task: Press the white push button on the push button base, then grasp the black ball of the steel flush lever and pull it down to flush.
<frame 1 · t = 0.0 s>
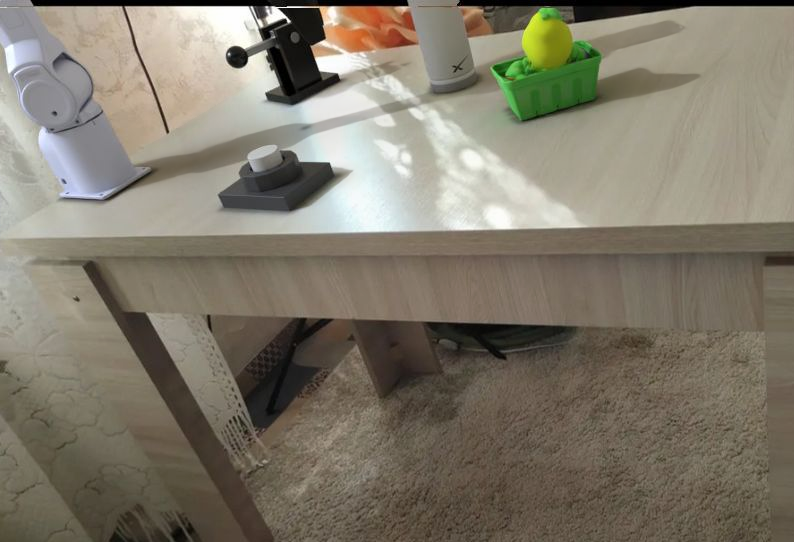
hand: (317, 34, 96), 11 cm above the table, tool pointing down, fingers open, 7 cm apart
travel mug: (456, 85, 102), on the table
white push button: (265, 159, 83), point 4 cm above the table, slide at 0.1 cm
push button base: (279, 192, 86), on the table
black lever base: (304, 90, 115), on the table
flush lever: (260, 46, 109), point 8 cm above the table, hinge at 0.0°
fruit basket: (554, 107, 89), on the table
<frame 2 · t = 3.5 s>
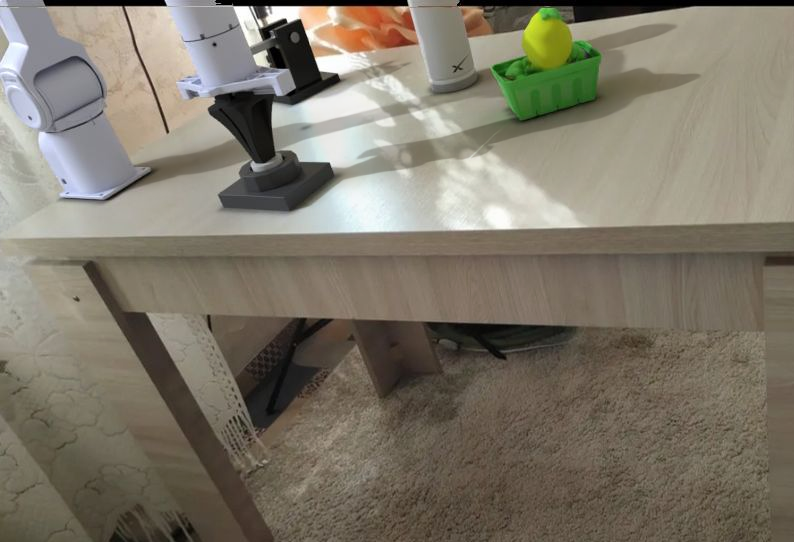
hand: (265, 159, 83), 4 cm above the table, tool pointing down, fingers closed, pressing on white push button
white push button: (268, 166, 84), point 3 cm above the table, slide at -0.8 cm, touching gripper
everything else where it was.
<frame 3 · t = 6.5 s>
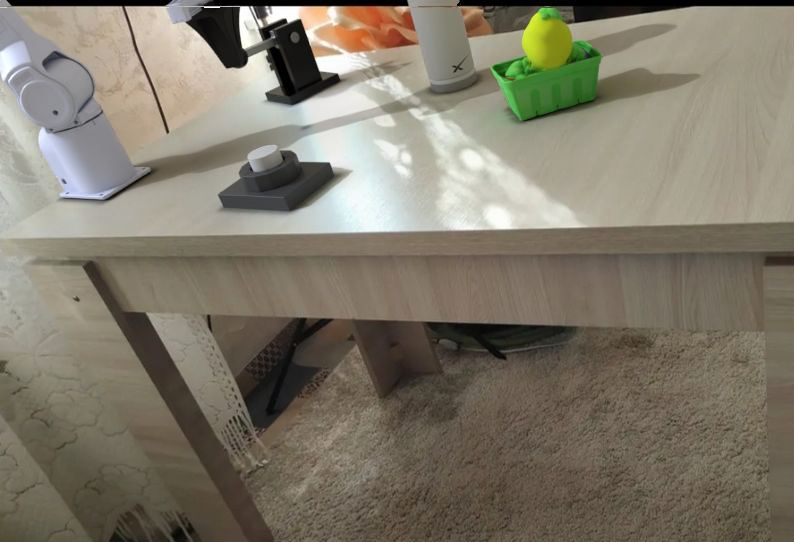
hand: (235, 65, 95), 10 cm above the table, tool pointing down, fingers closed
white push button: (265, 159, 83), point 4 cm above the table, slide at 0.1 cm
everything else where it was.
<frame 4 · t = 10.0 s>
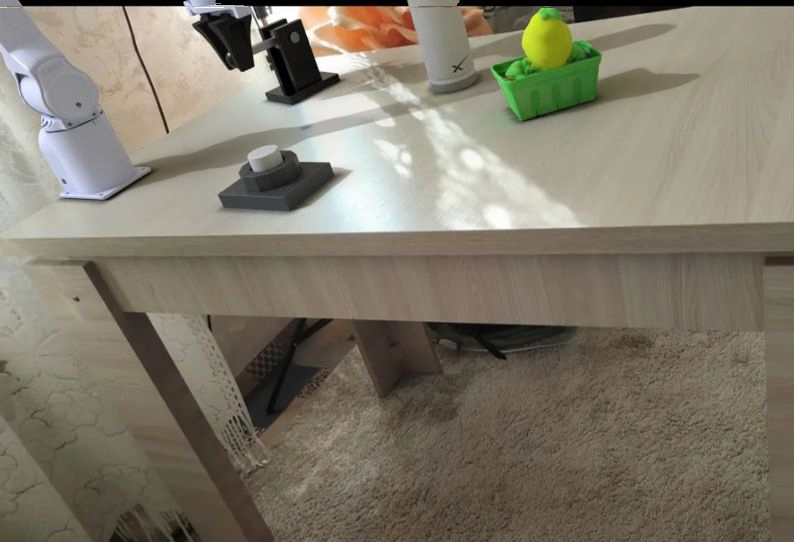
hand: (241, 68, 108), 6 cm above the table, tool pointing down, fingers closed on flush lever, 3 cm apart
flush lever: (260, 46, 109), point 8 cm above the table, hinge at 0.0°, touching gripper
everything else where it was.
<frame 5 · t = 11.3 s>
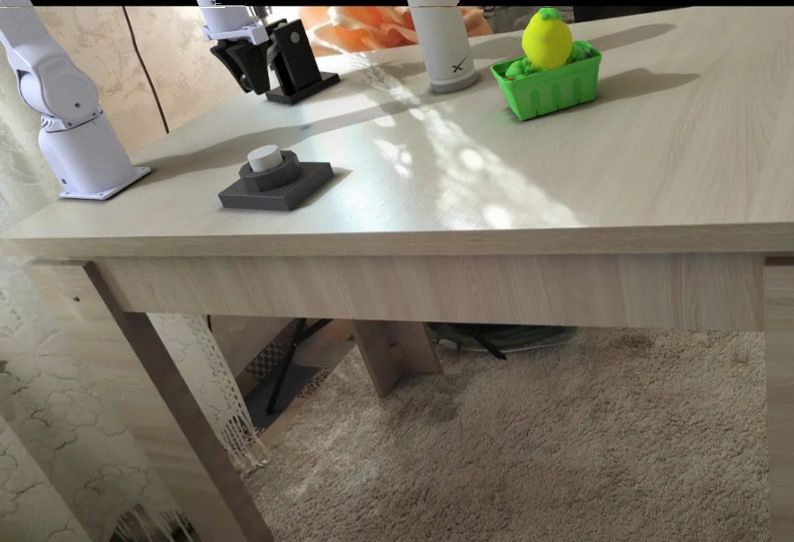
hand: (257, 91, 110), 3 cm above the table, tool pointing down, fingers closed on flush lever, 3 cm apart
flush lever: (267, 58, 110), point 6 cm above the table, hinge at -25.3°, touching gripper
everything else where it was.
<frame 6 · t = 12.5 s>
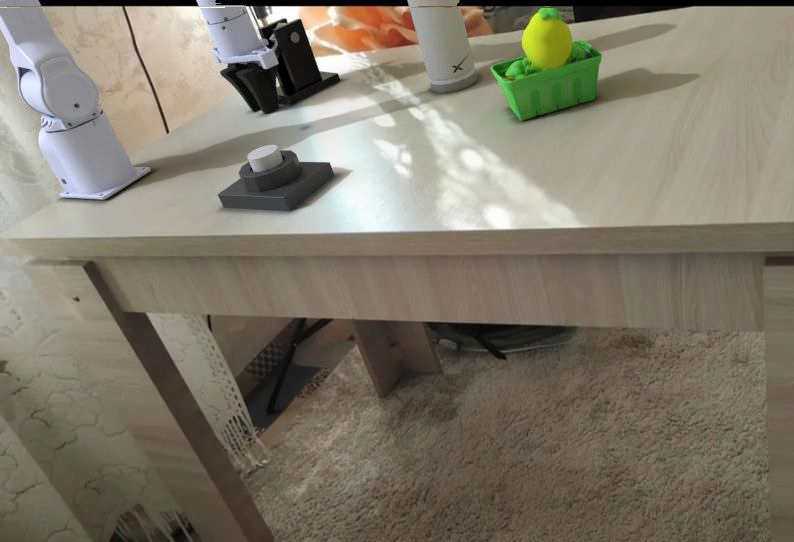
hand: (267, 112, 112), 0 cm above the table, tool pointing down, fingers closed on flush lever, 3 cm apart
flush lever: (270, 60, 110), point 6 cm above the table, hinge at -33.3°, touching gripper
everything else where it was.
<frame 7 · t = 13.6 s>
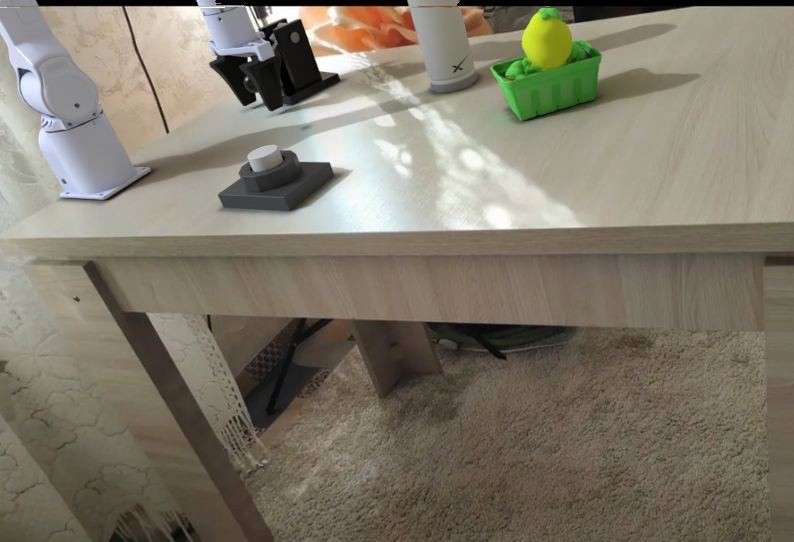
hand: (263, 106, 111), 1 cm above the table, tool pointing down, fingers open, 7 cm apart
flush lever: (269, 59, 110), point 6 cm above the table, hinge at -29.1°
everything else where it was.
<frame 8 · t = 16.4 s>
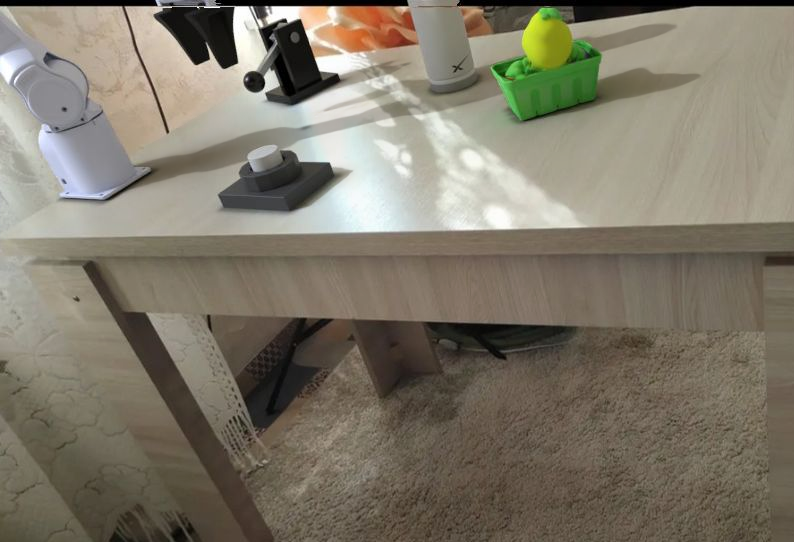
hand: (216, 64, 98), 10 cm above the table, tool pointing down, fingers open, 7 cm apart
nothing on the table moved.
at the end: white push button pushed in 1.2 cm at the most during the clip, back to where it started at the end; white push button slide at 0.1 cm; flush lever at -29° (first picture: +0°) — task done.
